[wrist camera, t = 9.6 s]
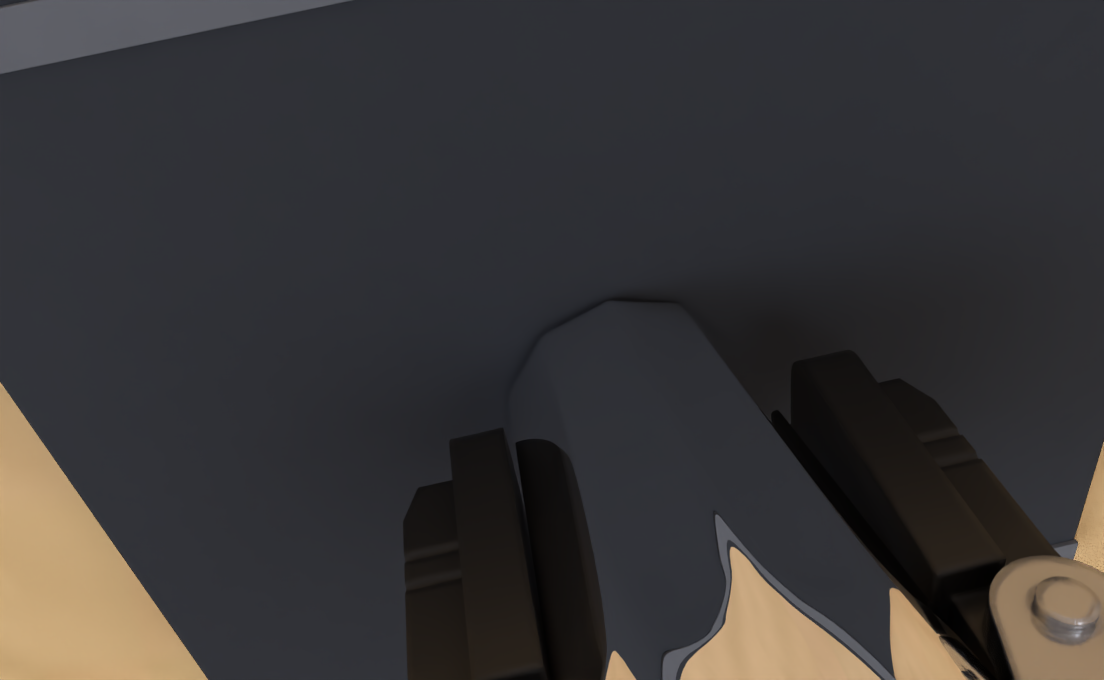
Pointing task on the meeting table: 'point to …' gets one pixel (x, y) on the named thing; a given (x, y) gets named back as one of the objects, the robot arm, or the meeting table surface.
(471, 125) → the desk pad
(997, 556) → the robot arm
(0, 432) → the meeting table surface
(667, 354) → the milkshake
